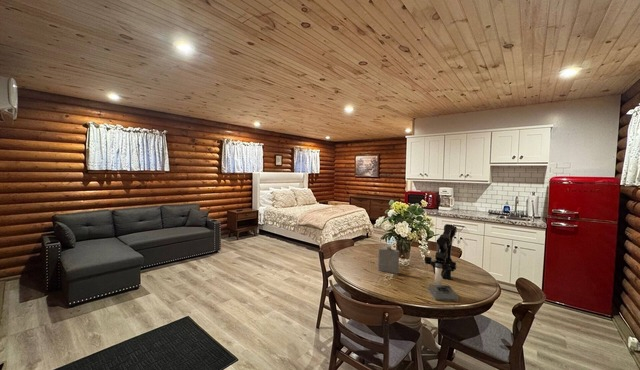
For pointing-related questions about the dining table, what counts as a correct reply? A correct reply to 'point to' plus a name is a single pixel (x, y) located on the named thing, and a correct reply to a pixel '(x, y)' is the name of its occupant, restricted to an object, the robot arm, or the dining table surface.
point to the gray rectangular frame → (443, 292)
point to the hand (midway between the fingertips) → (437, 274)
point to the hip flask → (388, 260)
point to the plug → (438, 273)
